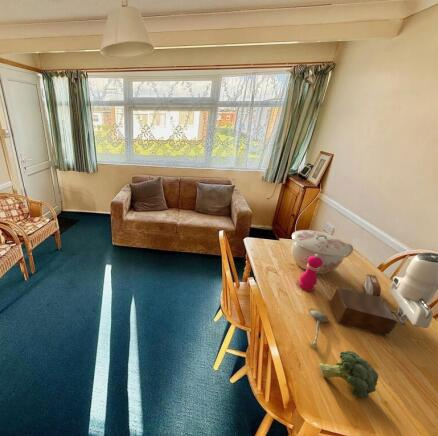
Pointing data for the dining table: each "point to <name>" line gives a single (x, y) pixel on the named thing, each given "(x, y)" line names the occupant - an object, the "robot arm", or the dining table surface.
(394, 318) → the drawer
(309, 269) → the pepper mill
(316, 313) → the soupspoon
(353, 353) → the vegetable
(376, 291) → the tin
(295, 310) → the dining table surface
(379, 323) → the cabinet
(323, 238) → the chamber pot
